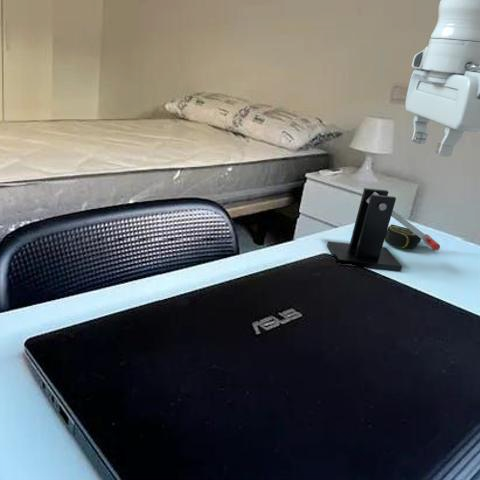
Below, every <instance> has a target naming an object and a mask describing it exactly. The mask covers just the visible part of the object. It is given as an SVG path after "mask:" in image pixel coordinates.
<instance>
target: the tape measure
mask: <svg viewBox="0 0 480 480" xmlns="http://www.w3.org/2000/svg"><path fill="white" fill-rule="evenodd" d="M389 225H390V226H388V229H387V232H386V236H385V239H384V242H386V243H387V244H389V245H390V246H393V247H394V248H397V249H399V250H400V249H401V250H413V249H416V248H417V247H418V245H419V244H420V243H421V240H422V239H421V238H420V237H418V236H417V235H416V234H414V233H413V232H412V231H410V230H409V229H408V228H406V227H405V226H400V225H396V224H389Z"/></svg>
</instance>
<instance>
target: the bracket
mask: <svg viewBox="0 0 480 480" xmlns="http://www.w3.org/2000/svg"><path fill="white" fill-rule="evenodd" d="M374 192H376V193H378V194H379V195H372V194H373V193H374ZM369 197H370V200H369V203H367V202H366V200H367V199H368V198H369ZM396 201H397V198H396V196H392V195H389V190H387V189H377V188H368V187H364V188H363V191H362V195H361V198H360V203H359V206H358V211H357V214H356V219H355V223H354V226H353V230H352V234H351V238H350V242H349V243H348V242H347V243H346V242H339V241H337V242H336V241H327V243H326V247H327V250H328V251H329V253H330V254H331V256H332V255H333V256H332V258H333V257H334V258H335V259H336V261H337V262H338V263H341V264H352V265H356V266H360V267H359V268H361V267H366V268H365V269H371V270H381V271H388V272H389V271H391V272H400V273H401V272H402V269H403V265H402V263H400V262H399V261H398V259H397V258H396V257H395V256H394V255H393V254H392V253H391V251H390V250H389V248H387V247H384V246H383V245H384V242H385V236H386V232H387V229H388V227H389V225H390V221H391V218H392V216H391V215H392V211H394V208H395V205H396V204H395V203H396ZM334 258H333V259H334ZM335 259H334V260H335ZM336 261H335V262H336Z"/></svg>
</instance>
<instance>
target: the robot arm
mask: <svg viewBox="0 0 480 480" xmlns="http://www.w3.org/2000/svg"><path fill="white" fill-rule="evenodd" d="M437 9H438V10H437V11H438V13H437V14H438V18H437V21H436V25H435V28H434V29H433V31H432V33H431V34H430V38H429V41H428V45H427V46H425V48H424V49H422V50H421V51H419V52H417V53H416V54H415V55H414V56H413V57H412V58H413V59H412V62H411V67H412V68H413V69H414V70H413V72H412V73H411V76H410V79H409V83H408V87H407V91H406V95H405V96H406V97H405V111H406V112H408V113H411V114H413V115H414V117H413V124H412V125H413V133H412V138H411V141H412V142H413V143H415V144H420V145H424V144H425V143H426V141H427V138H428V133H427V127H428V124H429V123H430V121H431V122H434V123H437V124H439V125H441V126H445V128H444V131H443V132H444V134H445V135H444V137H443V138H442V139H441V141H440V142H438V143H437V145H436V149H435V153H436V154H437V155H439V156H440V157H447V158H448V157H451V156H452V153H453V151H454V147H455V146H456V145H457V144H458V142H459V141H460V139H461V138H462V137H463V134H464V132H468V133H469V132H471V133H476V132H479V131H480V0H440V1H439V5H438V8H437Z"/></svg>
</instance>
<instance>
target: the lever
mask: <svg viewBox="0 0 480 480" xmlns="http://www.w3.org/2000/svg"><path fill="white" fill-rule="evenodd" d="M372 195H379V194H378V193H376V192H374V193H373V194H372ZM369 200H370V197H369V198H368V199H367V200H366V202H367V203H369ZM391 218H393V219H395V220H396V221H397V222H398V223H400V225H402V226H403V227H404V228H408V229H409V230H410V231H412V232H413V233H414V234H416V235H417V236H418V237H420V238H421V240H422V241H423V242H424V243H425V244H426V245H427V246H428V247H429V248H431V249H432V250H433V251H434V252H435V251H439V250H440V249H441V245H440V243H438V242H437V241H436V240H435V239H434V238H432V236H430V235H429V234H427V233H424V232H423V231H421V230H420V229H419V228H418V227H416V226H414V224H412V223H411V222H409V221H408V220H407V219H405V218H404V217H403V216H402V215H400V214H399V213H398V212H396V211H395V210H393V211H392V215H391Z"/></svg>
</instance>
